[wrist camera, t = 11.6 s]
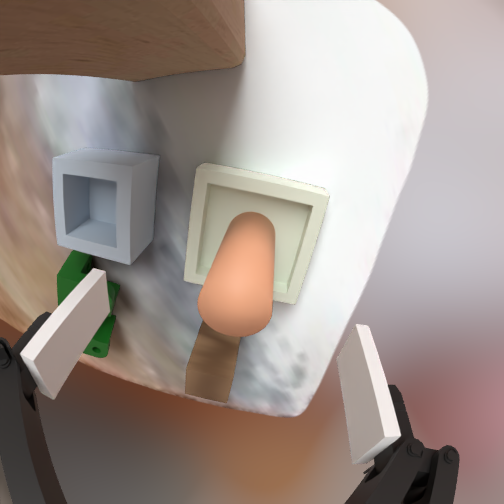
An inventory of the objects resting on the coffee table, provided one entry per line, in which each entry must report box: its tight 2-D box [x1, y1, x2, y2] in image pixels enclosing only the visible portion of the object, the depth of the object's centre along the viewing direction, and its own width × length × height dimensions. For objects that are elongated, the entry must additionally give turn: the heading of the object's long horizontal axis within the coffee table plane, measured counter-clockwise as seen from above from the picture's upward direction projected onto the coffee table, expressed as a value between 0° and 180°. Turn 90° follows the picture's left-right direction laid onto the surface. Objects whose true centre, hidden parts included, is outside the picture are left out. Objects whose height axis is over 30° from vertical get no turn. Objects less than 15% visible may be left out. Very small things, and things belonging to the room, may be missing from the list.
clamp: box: [57, 250, 120, 358], centre depth 28 cm, size 12×6×9 cm, turn 151°
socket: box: [53, 148, 160, 265], centre depth 22 cm, size 8×8×5 cm
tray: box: [184, 162, 330, 305], centre depth 24 cm, size 10×10×2 cm
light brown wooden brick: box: [185, 320, 241, 403], centre depth 27 cm, size 4×4×8 cm
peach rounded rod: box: [198, 212, 275, 337], centre depth 20 cm, size 4×4×10 cm
